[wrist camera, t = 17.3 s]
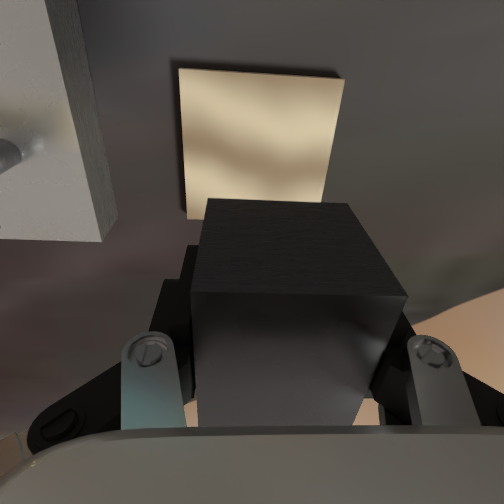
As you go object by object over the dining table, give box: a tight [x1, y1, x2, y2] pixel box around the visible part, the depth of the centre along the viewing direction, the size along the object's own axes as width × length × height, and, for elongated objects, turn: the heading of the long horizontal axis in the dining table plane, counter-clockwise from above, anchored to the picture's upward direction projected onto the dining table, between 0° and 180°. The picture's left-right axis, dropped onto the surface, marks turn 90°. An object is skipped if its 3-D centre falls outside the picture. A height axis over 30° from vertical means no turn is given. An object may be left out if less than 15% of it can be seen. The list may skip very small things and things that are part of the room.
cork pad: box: [179, 68, 345, 219], centre depth 25 cm, size 11×11×1 cm
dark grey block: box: [190, 198, 408, 427], centre depth 11 cm, size 6×5×5 cm
